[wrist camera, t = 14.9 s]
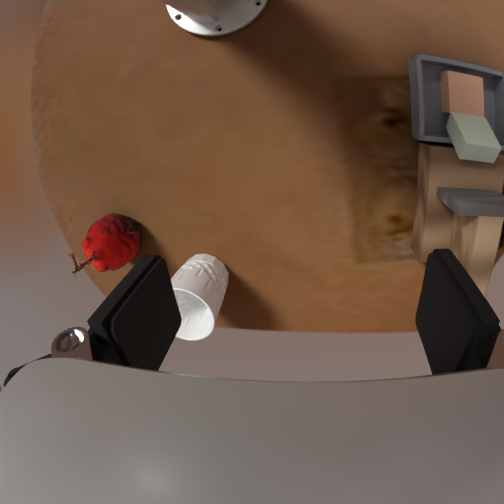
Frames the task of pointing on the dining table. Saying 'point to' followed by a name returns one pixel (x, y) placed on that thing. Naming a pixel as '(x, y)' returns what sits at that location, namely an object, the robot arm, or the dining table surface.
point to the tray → (429, 96)
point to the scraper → (475, 229)
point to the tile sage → (472, 137)
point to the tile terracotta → (461, 93)
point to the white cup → (199, 295)
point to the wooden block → (446, 175)
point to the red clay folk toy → (109, 243)
